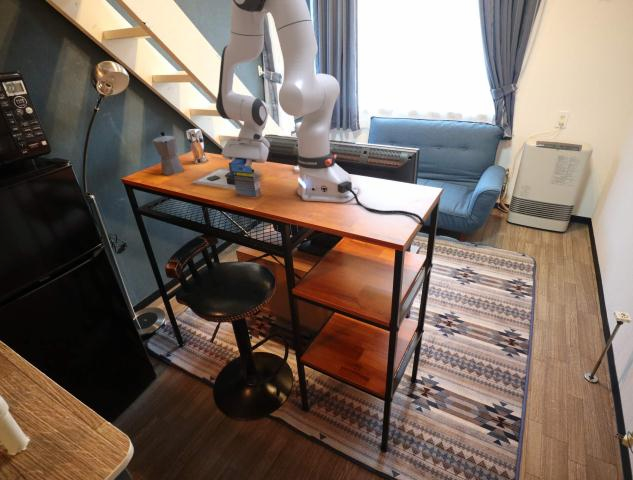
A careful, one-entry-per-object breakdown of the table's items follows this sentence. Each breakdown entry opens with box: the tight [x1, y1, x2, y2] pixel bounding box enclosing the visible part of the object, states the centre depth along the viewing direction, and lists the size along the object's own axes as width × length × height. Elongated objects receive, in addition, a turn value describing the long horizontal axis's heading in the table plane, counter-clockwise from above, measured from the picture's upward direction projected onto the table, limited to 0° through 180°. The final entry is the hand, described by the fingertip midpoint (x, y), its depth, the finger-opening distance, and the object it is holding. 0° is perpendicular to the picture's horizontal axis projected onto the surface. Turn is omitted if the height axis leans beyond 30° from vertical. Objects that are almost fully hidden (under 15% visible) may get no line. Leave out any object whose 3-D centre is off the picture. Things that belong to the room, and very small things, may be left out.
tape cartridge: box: [231, 164, 262, 197], centre depth 124 cm, size 9×4×12 cm, turn 65°
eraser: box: [226, 158, 255, 185], centre depth 138 cm, size 5×12×8 cm, turn 154°
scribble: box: [207, 175, 220, 181], centre depth 142 cm, size 4×4×1 cm
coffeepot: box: [152, 131, 184, 176], centre depth 152 cm, size 15×9×18 cm, turn 27°
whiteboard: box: [192, 167, 261, 190], centre depth 143 cm, size 22×18×1 cm
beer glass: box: [185, 128, 208, 165], centre depth 163 cm, size 7×7×15 cm
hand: (238, 170), depth 137 cm, fingers closed on eraser, 3 cm apart
